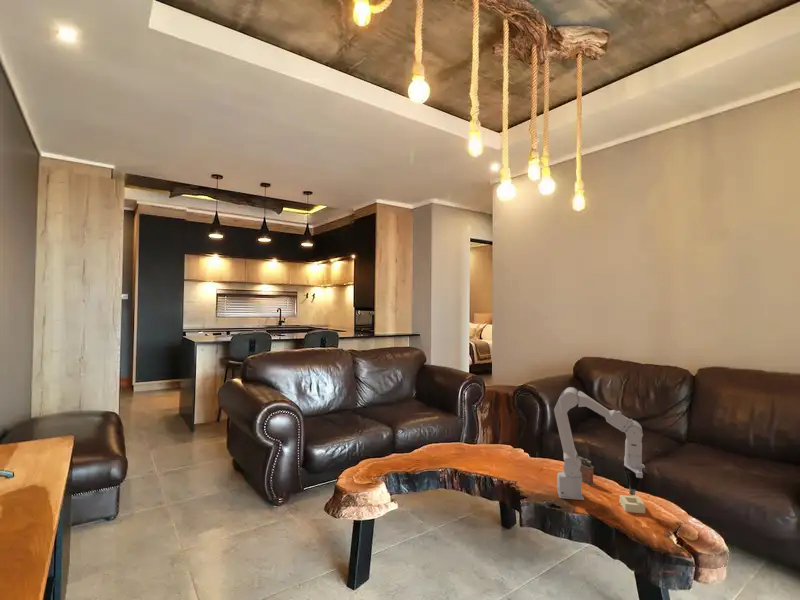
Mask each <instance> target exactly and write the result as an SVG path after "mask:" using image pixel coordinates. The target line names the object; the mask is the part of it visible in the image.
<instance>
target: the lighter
mask: <svg viewBox="0 0 800 600" xmlns="http://www.w3.org/2000/svg"><path fill="white" fill-rule="evenodd" d="M579 458H580V459H581V462H582V464H581V467H580V472H581V473H582V483H584V484H586V483H587V485H590V486H593V485H594V469H595V467H594V466H593V465H592V461H591V460H589V459H588V458H584V457H582V456H579Z"/></svg>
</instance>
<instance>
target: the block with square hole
mask: <svg viewBox="0 0 800 600" xmlns="http://www.w3.org/2000/svg"><path fill="white" fill-rule="evenodd" d="M620 503H621V504H620ZM619 504H620V505H621V507H622V509H623V510H624V512H626V513H635V514H636V513H637V514H638V513H639V514H646V505H645V503H644V502H643V500H642V499H641V498H640V496H638V495H637V496H636V495H625V494H619Z"/></svg>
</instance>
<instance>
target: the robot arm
mask: <svg viewBox="0 0 800 600" xmlns="http://www.w3.org/2000/svg"><path fill="white" fill-rule="evenodd" d="M576 406H578V408H582V407H586V408H588V409H590V410H592V411H593V412H594V413H597V414H598V415H600V416H602V417H604V418H605V421H606V423H608V424H610V425H611V426H612V427H613V428H615V429H617V430H619V431H620V432H622V433H625V441H624V442H625V443H624V458H623V461H624V463H623V466H622V468H623V470H624V473H625V476H626V481H627V485H628V487H630V488H631V489H633V490H635V491H637V490H638V488H639V484H640V481H641V480H642V479H643V477H644V473H643V469H646V468H645V467H646V465H644V464H643V463H642V460H643V459H642V458H643V457H642V454H643V442H642V441H643V436H644V434H643V428H642V427H643V426H642V425H641V424H640V423H639V422H638V421H637V420H633V418H629V417H627V416H625V415H623V414H622V412H621V410H616V409H611V410H610V409H608V408H607V407H605V406H603V405H602V404H601V403H599V402H597V401H596V400H595V399H594V398H592V397H590V396H589V395H587V394H586V393H585V392H583V391H581V390H578V389H577V388H575V387H572V386H569V387H566V388H565V389H564V390H563V391H562V392H561V393H560V395H559V398H558V399H557V402H556V404H555V406H554V409H553V412H554V417H555V422H556V426H557V429H558V433H559V439H560V442H561V447H562V448H561V449H562V451H563V452H562V453H563V461H564V462H563V470H562V472H561V471H560V472H557V473H556V474H557V475H556V490H557V494H558V497H559V498H560V499H567V500H579V501H584V500H585V497H584V495H583V493H582V488H583V487H582V486H583V482H582V473H581V472H580V467H581V464H582V462H581V459H580V458H579V457H580V456H579V455H578V452H577V450H576V446H575V443H574V442H575V441H574V438H573V435H572V434H573V433H572V429H571V424H570V420H569V416H568V413H569V411H570V410H571V409H573V408H575V407H576Z"/></svg>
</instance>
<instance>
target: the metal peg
mask: <svg viewBox="0 0 800 600" xmlns="http://www.w3.org/2000/svg"><path fill="white" fill-rule="evenodd" d="M628 487H629V490H628V491H629V493H628V494H629V496H636V490H633V489H631V488H630V486H628Z"/></svg>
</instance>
